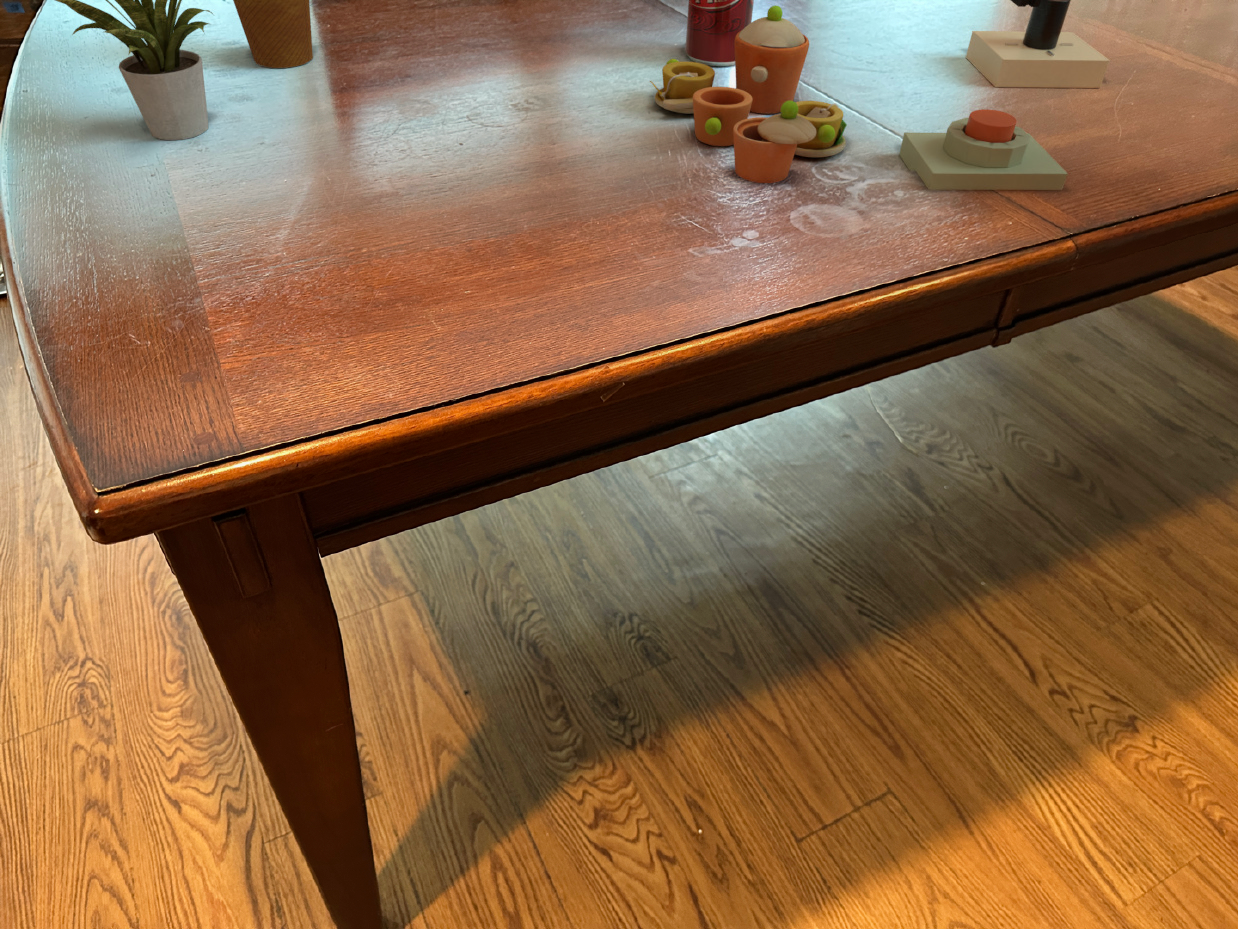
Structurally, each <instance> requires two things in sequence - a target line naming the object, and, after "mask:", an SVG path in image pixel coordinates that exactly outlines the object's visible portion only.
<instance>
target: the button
mask: <svg viewBox="0 0 1238 929" xmlns="http://www.w3.org/2000/svg"><path fill="white" fill-rule="evenodd" d="M968 118H969V119H968V123H967V126H966V130H965V135H967V136H969V137H971V138H973V139H976V140H980V141H985V142H990V143H1006V142H1009V141H1011V139H1012V135H1013V132H1014V129H1015V126H1017V123H1018V122H1017V121H1018V120H1017V119H1016V117H1015V116H1014V115H1012V114H1009V113H1008V112H1004V111H1001V110H996V109H988V108H986V109H985V108H984V109H976V110H975V109H974V110H973V111H971V112H970V113H969V116H968Z"/></svg>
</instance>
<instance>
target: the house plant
mask: <svg viewBox="0 0 1238 929" xmlns="http://www.w3.org/2000/svg"><path fill="white" fill-rule="evenodd" d="M54 1H55V2H58V3H61V4H64V5H66V6H67V7H68V8H69V9H71V10H72V11H74V12H75V13H77V14H78V15H80V16H82V17H84V18H86V19H88V20H90V21H92V22H91V23H85V24H82V25H80V26H78V27H76V28H75V29H74V31H73V32H72V34H71V36H73V35H75V34H76V33H77V32H80V31H83V30H88V29H100V30H103V33H106V34H110V35H111V36H113V37H115V38H116V39H118V40H119V41H120V42H121V43H122V44H124V45H125V46H126V47H127V49H128V57H126V58H124V59H122V60H121V61H120V62H119V64H118V70H119V72H120V73H121V76H122V77H123V80H124V82H125V83H126V86H127V88H128V90H129V92H130V93H131V96H132V98H133V99H134V102H135V104H136V106H137V108H138V110H139V112H140V114H141V116H142V118H143V120H144V122H145V125H146V126H147V128H148V130H149V133H150V134H151V136H152V137H154V138H156V139H159V140H164V141H181V140H187V139H192V138H196V137H198V136H201V135H202V134H203V133H205V132H206V131H208V130H209V118H208V116H209V115H208V108H207V106H208V105H207V98H206V97H207V96H206V88H205V86H206V85H205V78H204V67H203V58H202V56H201V55H199V54H198V53H196V52H194V51H190V50H185V49H181V47H182V45H183V42H184V41H185V39H186V38H188V36H189V35H190V34H192V33H193V32H195V31H197V30H198V29H200V30H201V31H202V32H203V35H204V34H205V30H204V27H205V26H206V25H207V26H208V25H210V23H209V22H206V21H202V20H201V21H200V20H198V21H191V20H192V19H193V18H194V17H195V16H197V15H199V14H200V13H203V12H208V13H210V14H211V15H214V13H213V12H212V11H210V10H209V9H202V8H198V7H188V8H187V9H184V10H183V11H182V13H181V14H179V10H180V7H181V4H182V1H183V0H155V1H153V0H114V2H115V3H116V4H118V5H119V7H120V8H121V9H122V10H123V11H124V12H125V13H126V15H127V16H128V17H129V19H130V20H131V21H132V22H131V21H129V19H128V18H127V17H126V16H125V15H124V14H123V13H122V12H121V11H120V10H119V9H118V8H117V7H116V6H115V5H114V4H113V3H112V2H111V1H109V0H105V1H106V2H107V3H108V4H109V5H110V6H111V7H112V8H113V9H115V11H117V12H118V14H120V15H121V16H122V17H123V18H124V19H125V21H127V22H128V23H129V24H130V25H131V27H133V28H131V27H129V25H126V24H125V23H124V22H122V21H121V20H119V19H118V18H116V17H115V16H114V15H112V14H111V13H109V12H106V11H105V10H102V9H100V8H98V7H95V6H93V5H91V4H88V3H85V2H84V1H80V0H54ZM167 4H168V9H167ZM178 15H179V16H178ZM177 17H178V18H177ZM190 21H191V22H190ZM212 25H213V26H214V24H212ZM131 53H132V55H130V54H131Z"/></svg>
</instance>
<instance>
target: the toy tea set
mask: <svg viewBox="0 0 1238 929" xmlns="http://www.w3.org/2000/svg"><path fill="white" fill-rule="evenodd" d="M734 45H735V65H734V67H735V69H734V70H735V87H729V86H714V85H713V84H714V82H715V81H714V80H715V76H716V72H715V70H714V68H712V66H708V65H705V64H701V63H696V62H694V61H679V60H678V59H676V58H670V59H668V60H667V62H666V63H665V65H664V66H662V70H661V71H662V84H663V85H662V86H663V87H662V88H660V89H659V88H658V87H657V85H655V83H654V82H653V81H652V80H649V82H650V83H651V84H652V86H653V87H654V89H656V90H657V91H656V92H655V95H654V101H655V103H656V104H657V105H658V106H660V107H661V108H663V109H664V110H667V111H671V112H674V113H677V114H692V115H693V122H694V123H693V124H694V134H695V138H696V139H697V140H698V141H699V142H701V143H703V144H705V145H707V146H708V145H709V146H713V147H729V146H733V155H734V172H735V174H736V175H737V176H738V177H739V178H741V179H743V180H746V181H748V182H752V183H757V184H775V183H778V182H781V181H784V180H785V179H786V178H788V175H789V172H790V169H791V166H792V163H793V159H794V156H800V157H806V158H825V157H827V158H828V157H830V156H834V155H837V154H840V153H841V152H842V151H843V150H844V149H845V148H846V143H847V140H846V138H845V136H844V135H843V134H844V132H845V130H846V128H847V126H848V124H847V123H846V122H845V120H844V119H843V118H844V111H843V110H842V109H841V108H840V107H839V105H838V104H837V103H835V102H834V103H828V102H824V101H818V100H799V101H794V100H795V97H796V94H797V93H796V92H797V89H798V85H799V82H800V80H801V79H800V78H801V76H802V72H803V68H804V65H805V62H806V60H807V59H806V58H807V55H808V53H809V48H810V40H809V39H808V37H807V36H806V35H805V34H803V33H802V31H801V30H800V29H799V28H798V27H797V26H796V24H794V23H793V22H792V21H790V20H788V19H786V18H783V9H782V7H781V6H779V5H772V6H770V7H769V8H768V10H767V14H766V16H763V17H760V18H757V19H755V20H752V22H751V23H750V24H749V25H748V26H746V27H745V28H744V29H743V30H742V31H740V32H738V33H737V35H736V36H735V42H734ZM750 112H751V113H756V114H763V115H764V114H766V115H770V116H768V117H767V116H764V117H763V116H759V117H758V116H756V117H751V118H750V117H749V115H750Z"/></svg>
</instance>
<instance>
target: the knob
mask: <svg viewBox="0 0 1238 929" xmlns="http://www.w3.org/2000/svg"><path fill="white" fill-rule="evenodd" d="M1071 1H1072V0H1041V3H1040V5H1039V7H1032V9H1031V12H1030V17H1029V19H1028V22H1027V26H1026V30H1025V31H1024V32H1025V36H1024V39H1023V44H1024V45H1026V46H1028V47H1031V48H1035V49H1045V50H1047V49H1054V48H1055V47H1056V45H1057V42H1058V39H1059V36H1060V32H1062V29H1063V26H1064V23H1065V20H1066V16H1067V14H1068V10H1069V7H1070V5H1071Z"/></svg>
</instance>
